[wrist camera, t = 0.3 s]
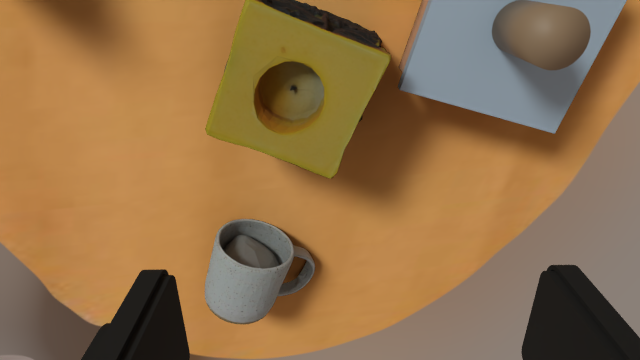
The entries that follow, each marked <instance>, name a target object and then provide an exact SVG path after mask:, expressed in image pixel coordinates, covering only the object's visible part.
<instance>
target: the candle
mask: <svg viewBox="0 0 640 360" xmlns="http://www.w3.org/2000/svg"><path fill="white" fill-rule="evenodd" d="M381 42H382V41H381V39H380V38H379V37H378V35H377V33H375V31H369V30H367V29H365V28H363V27H362V26H360V25H358V24H356V23H352V22H351V21H349V20H347V19H344V18H341V17H338V16H336V15H334V14H332V13H330V12H327V11H323V10H319V9H318V8H317V7H316V6H310V5H308V4H307V3H301V2H298V1H296V0H245V3H244V6H243V9H242V12H241V15H240V18H239V22H238V25H237V28H236V31H235V34H234V39H233V43H232V48H231V52H230V55H229V59H228V61H227V64H226V67H225V71H224V75H223V78H222V80H221V83H220V86H219V88H218V91H217V94H216V97H215V100H214V103H213V107H212V110H211V113H210V115H209V118H208V122H207V125H206V128H205V129H206V132H207V135H210V136H212V137H214V138H217V139H219V140H223V141H226V142H229V143H233V144H236V145H241V146H245V147H248V148H251V149H254V150H257V151H260V152H263V153H265V154H268V155H270V156H273V157H275V158H278V159H281V160H284V161H286V162H289V163H292V164H295V165H297V166H299V167H301V168H304V169H306V170H308V171H311V172H313V173H316V174H319V175H321V176H324V177H327V178H333V177H334V176H335V175H336V174H337V171H338V168H339V166H340V163H341V160H342V156H343V153H344V149H345V147H346V146H347V144H348V142H349V141H350V139H351V137H352V135H353V132H354V130H355V128H356V126H357V124H358V122H360V121H361V120H362V113H363V111H364V109H365V108H366V106H367V104H368V102H369V100H370V98H371V96H372V95H373V93H374V91H375V90H376V88H377V86H378V84H379V82H380V80H381V78H382V76H383V74H384V72H385V70H386V68H387V66H388V64H389V62H390V59H391V55H390V53H388V52H386V50H385V49H384V48H381Z"/></svg>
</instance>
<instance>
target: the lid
mask: <svg viewBox="0 0 640 360" xmlns="http://www.w3.org/2000/svg"><path fill="white" fill-rule="evenodd" d="M626 1H627V0H429V1H428V4H427V6H426V9H425V12H424V15H423V18H422V20H421V23H420V26H419V29H418V31H417V34H416V37H415V40H414V43H413V45H412V48H411V51H410V54H409V57H408V59H407V62H406V65H405V68H404V70H403V73H402V76H401V79H400V82H399V84H398V88H399V90H402V91H405V92H409V93H412V94H416V95H419V96H423V97H426V98H430V99H434V100H437V101H441V102H444V103H448V104H451V105H455V106H458V107H462V108H465V109H469V110H473V111H476V112H480V113H483V114H487V115H490V116H494V117H497V118H501V119H504V120H508V121H512V122H515V123H519V124H522V125H526V126H529V127H533V128H536V129H540V130H544V131H547V132H551V133H554V134H555V132H556V130H557V128H558V127H559V125H560V123H561V121H562V119H563V117H564V116H565V114H566V112H567V110H568V108H569V106H570V104H571V103H572V101H573V99H574V97H575V95H576V93H577V91H578V90H579V88H580V86H581V84H582V82H583V80H584V78H585V77H586V75H587V73H588V71H589V69H590V67H591V66H592V64H593V62H594V60H595V58H596V56H597V54H598V53H599V51H600V49H601V47H602V45H603V43H604V41H605V40H606V38H607V36H608V34H609V32H610V30H611V28H612V27H613V25H614V23H615V21H616V19H617V17H618V16H619V14H620V12H621V10H622V8H623V6H624V4H625V3H626Z"/></svg>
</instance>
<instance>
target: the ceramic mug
mask: <svg viewBox="0 0 640 360" xmlns="http://www.w3.org/2000/svg"><path fill="white" fill-rule="evenodd" d="M294 256H296V257H299V258H303V259H305V260H307V261H306V264H305V266H304V268H303V269H302V271H301V273H300V274H299V275H298V277H297V278H296V279H294V280H292V281H290V282H287V283H283V281H284V279H285V277H286V274H287V272H288V270H289V268H290V266H291V263H292V261H293V258H294ZM314 271H315V264H314V261H313V259H312V257H311V255H310V254H309V252H308V251H307V250H305V249H304V248H302V247H298V246H295V245H293V243H292V242H291V240H290V239H289V237H288V236H287V235H286V234H285V233H284V232H282V231H281V230H280V229H278V228H277V227H275V226H273V225H271V224H268V223H265V222H262V221H259V220H253V219H239V220H233V221H230V222H228V223H227V224H225V225H223V226H222V227H221V228H220V229H219V231H218V233H217V235H216V238H215V243H214V247H213V252H212V256H211V260H210V265H209V270H208V274H207V277H206V282H205V299H206V302H207V305H208V307H209V308H210V310H211V311H212V312H213V313H214V314H215V315H216V316H217V317H219V318H220V319H222V320H224V321H226V322H230V323H234V324H250V323H254V322H256V321H258V320H260V319H262V318H263V317H264V316H265V315H266V314H267V313H268V312H269V310H270V309H271V308H272V306H273V304H274V302H275V300H276V298H277V296H283V295H289V294H292V293H295V292H297V291H298V290H300V289H302V288H303V287H304V286H305V285H306V284H307V283H308V282H309V281H310V279H311V278H312V276H313V274H314ZM282 283H283V284H282Z"/></svg>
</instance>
